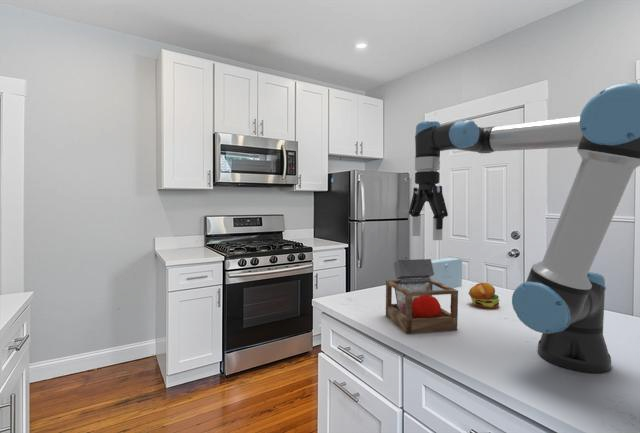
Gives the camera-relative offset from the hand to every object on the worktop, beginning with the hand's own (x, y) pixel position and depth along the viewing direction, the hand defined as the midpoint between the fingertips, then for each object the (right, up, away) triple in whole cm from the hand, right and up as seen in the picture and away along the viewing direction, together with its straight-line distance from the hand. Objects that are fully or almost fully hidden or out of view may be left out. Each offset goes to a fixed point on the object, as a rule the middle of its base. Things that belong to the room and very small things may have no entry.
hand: (426, 237), depth 110 cm
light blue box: (+23, -27, +50) cm, 61 cm away
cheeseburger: (+30, -28, +23) cm, 47 cm away
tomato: (+1, -26, -1) cm, 26 cm away
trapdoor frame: (-1, -29, +4) cm, 29 cm away
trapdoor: (-2, -19, +9) cm, 21 cm away
